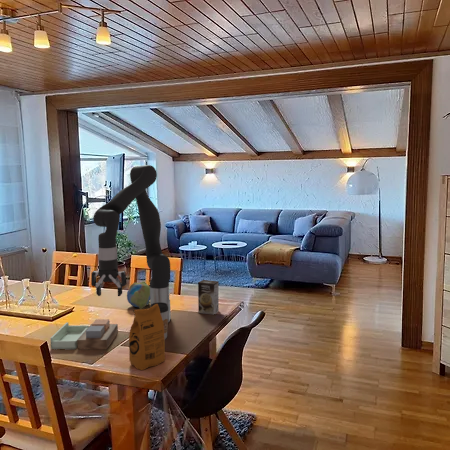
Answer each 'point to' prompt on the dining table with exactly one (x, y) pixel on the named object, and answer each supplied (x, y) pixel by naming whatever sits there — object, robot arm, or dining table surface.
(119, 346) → the dining table surface
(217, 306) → the coffee box
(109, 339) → the grey brown flat block
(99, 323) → the terracotta tile
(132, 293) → the blue green round ball
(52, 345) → the tray
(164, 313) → the coffee cup
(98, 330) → the slate tile
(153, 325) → the coffee package
